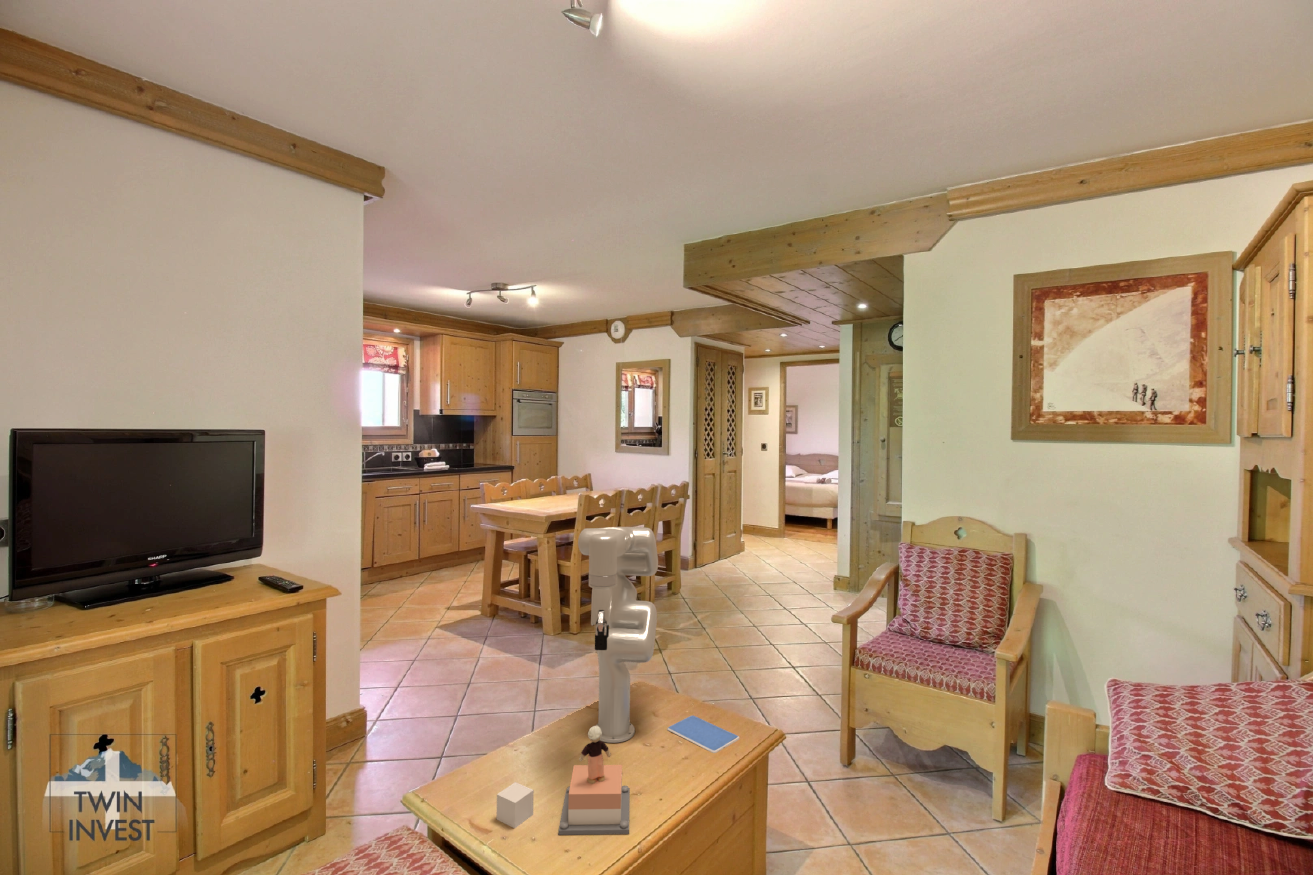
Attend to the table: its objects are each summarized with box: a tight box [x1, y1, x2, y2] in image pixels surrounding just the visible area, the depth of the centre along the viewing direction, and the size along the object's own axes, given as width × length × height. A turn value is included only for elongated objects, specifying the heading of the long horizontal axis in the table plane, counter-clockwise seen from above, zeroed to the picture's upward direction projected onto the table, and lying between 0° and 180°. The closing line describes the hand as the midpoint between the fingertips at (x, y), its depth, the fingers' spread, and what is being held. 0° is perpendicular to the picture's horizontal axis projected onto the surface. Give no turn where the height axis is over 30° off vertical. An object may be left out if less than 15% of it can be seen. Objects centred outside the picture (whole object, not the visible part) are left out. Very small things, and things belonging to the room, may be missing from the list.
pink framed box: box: [557, 764, 631, 836], centre depth 142 cm, size 16×16×8 cm
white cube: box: [496, 781, 534, 829], centre depth 140 cm, size 6×6×6 cm
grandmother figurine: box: [578, 725, 612, 784], centre depth 142 cm, size 8×4×13 cm, turn 124°
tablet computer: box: [666, 715, 740, 754], centre depth 181 cm, size 19×13×1 cm, turn 45°
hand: (601, 643), depth 160 cm, fingers open, 9 cm apart
